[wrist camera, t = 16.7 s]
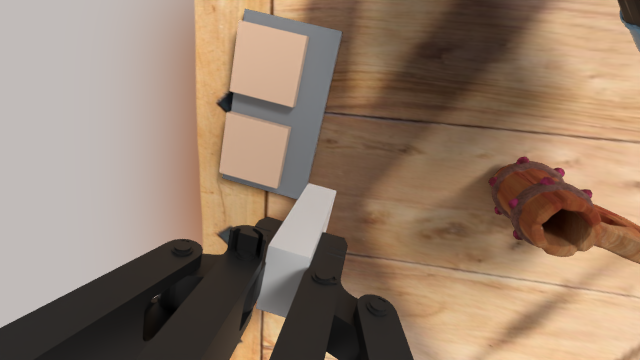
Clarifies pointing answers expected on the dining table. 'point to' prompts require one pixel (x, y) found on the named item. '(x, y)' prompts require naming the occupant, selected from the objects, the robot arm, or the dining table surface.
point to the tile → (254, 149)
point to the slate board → (308, 106)
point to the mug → (559, 213)
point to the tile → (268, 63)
